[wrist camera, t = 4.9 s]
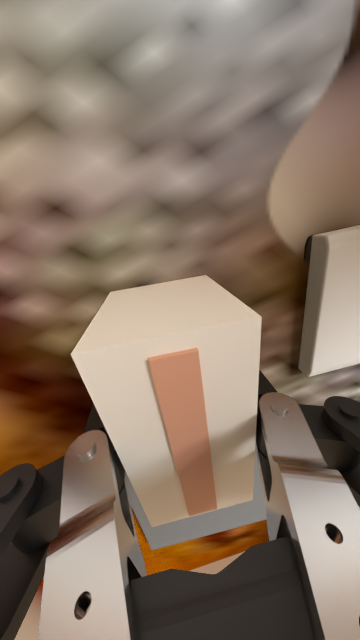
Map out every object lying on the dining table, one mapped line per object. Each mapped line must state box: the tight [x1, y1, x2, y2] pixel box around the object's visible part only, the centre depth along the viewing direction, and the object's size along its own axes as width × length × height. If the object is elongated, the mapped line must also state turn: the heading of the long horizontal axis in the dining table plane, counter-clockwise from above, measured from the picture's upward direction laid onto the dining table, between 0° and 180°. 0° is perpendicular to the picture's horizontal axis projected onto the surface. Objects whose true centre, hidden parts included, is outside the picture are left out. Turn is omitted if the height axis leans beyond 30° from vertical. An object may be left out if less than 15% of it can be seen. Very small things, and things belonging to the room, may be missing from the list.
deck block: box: [71, 275, 262, 527], centre depth 9 cm, size 9×4×5 cm, turn 8°
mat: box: [125, 445, 267, 550], centre depth 17 cm, size 14×12×1 cm
